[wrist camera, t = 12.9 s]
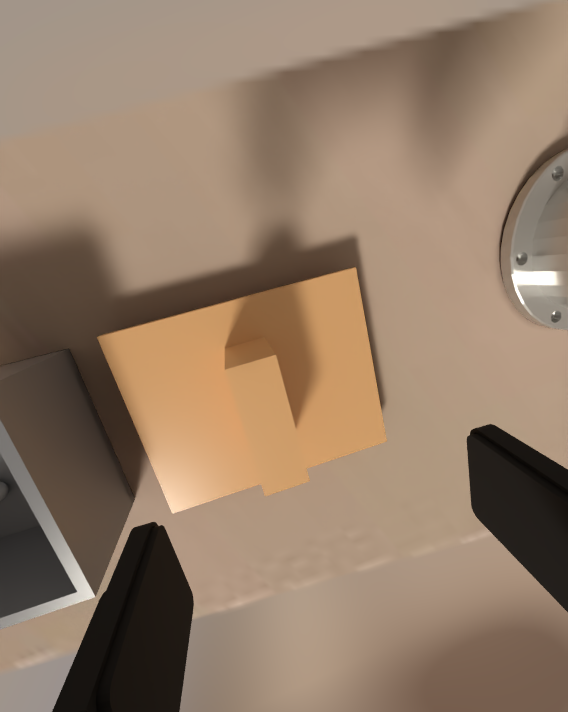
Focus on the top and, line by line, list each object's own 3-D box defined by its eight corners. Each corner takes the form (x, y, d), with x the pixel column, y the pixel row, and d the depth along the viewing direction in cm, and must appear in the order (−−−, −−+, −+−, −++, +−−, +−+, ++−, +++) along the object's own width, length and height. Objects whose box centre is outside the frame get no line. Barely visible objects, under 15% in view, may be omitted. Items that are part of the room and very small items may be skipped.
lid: (343, 268, 21) (395, 264, 14) (373, 428, 24) (426, 481, 18) (109, 331, 19) (53, 357, 13) (177, 493, 22) (158, 576, 16)
